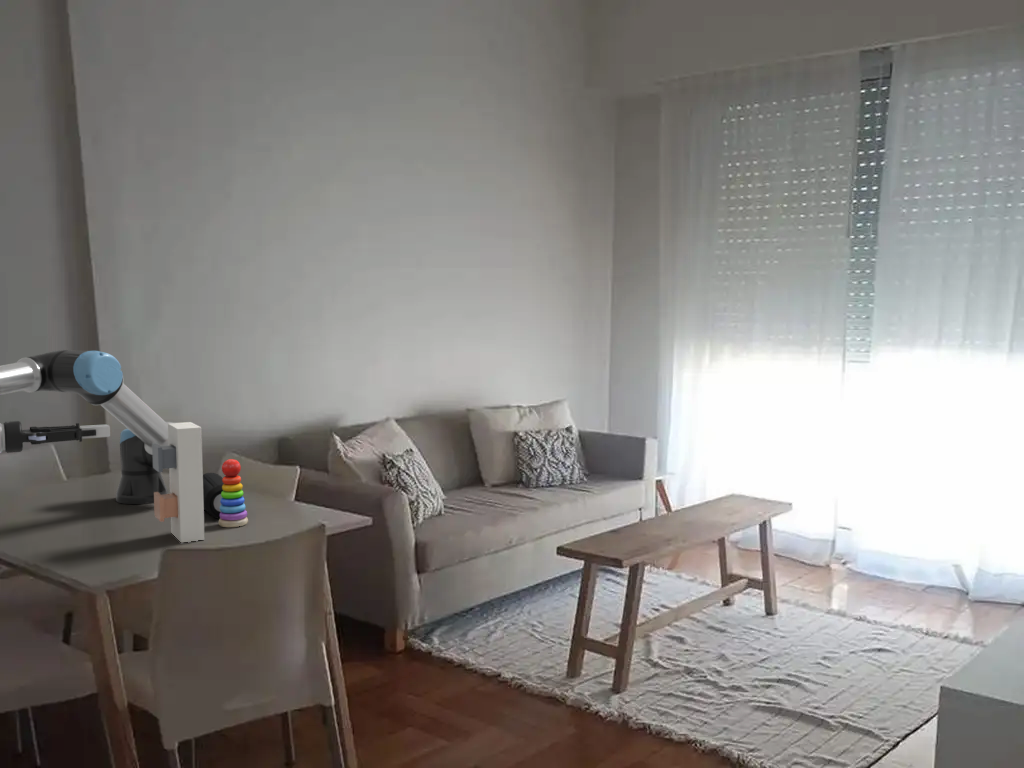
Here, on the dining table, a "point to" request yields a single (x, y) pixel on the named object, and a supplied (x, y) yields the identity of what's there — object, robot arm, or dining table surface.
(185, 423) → the button panel
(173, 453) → the upper button
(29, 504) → the dining table surface
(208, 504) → the portable speaker
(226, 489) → the stacking toy
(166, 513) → the lower button
